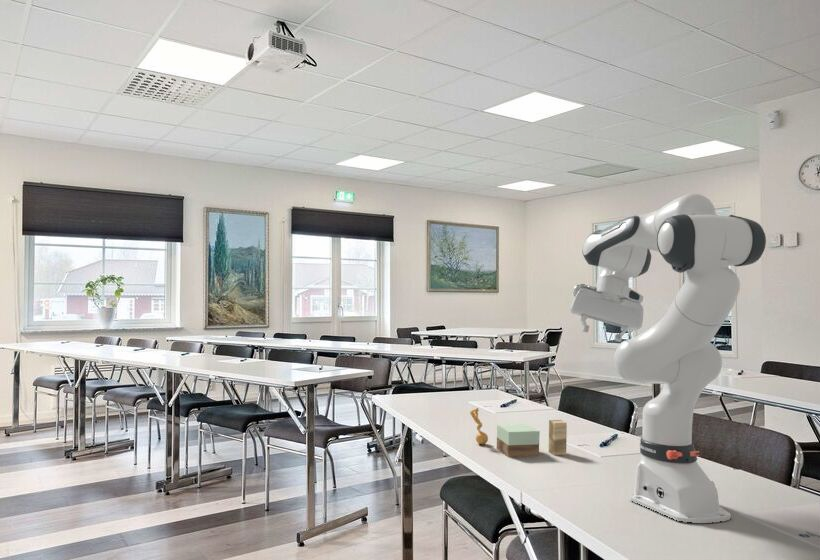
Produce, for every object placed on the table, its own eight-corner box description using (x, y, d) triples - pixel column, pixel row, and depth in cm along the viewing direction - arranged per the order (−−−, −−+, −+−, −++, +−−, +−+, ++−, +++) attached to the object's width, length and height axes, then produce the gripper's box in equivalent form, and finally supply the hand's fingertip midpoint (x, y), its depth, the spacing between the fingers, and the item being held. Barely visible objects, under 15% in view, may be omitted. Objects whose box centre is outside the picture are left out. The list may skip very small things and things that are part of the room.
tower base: (538, 457, 182) (539, 444, 182) (508, 458, 180) (508, 445, 180) (526, 449, 192) (526, 436, 192) (496, 450, 190) (496, 437, 190)
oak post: (566, 455, 184) (566, 422, 184) (554, 455, 183) (554, 422, 184) (560, 451, 188) (560, 419, 188) (548, 452, 187) (549, 420, 188)
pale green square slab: (539, 444, 182) (539, 431, 182) (508, 445, 180) (508, 432, 180) (526, 436, 192) (526, 423, 192) (496, 437, 190) (497, 424, 190)
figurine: (491, 447, 191) (491, 410, 192) (472, 447, 190) (473, 410, 191) (484, 441, 199) (485, 405, 200) (466, 441, 199) (467, 405, 199)
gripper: (578, 279, 173) (567, 323, 169) (649, 298, 170) (640, 344, 167) (573, 285, 179) (563, 328, 175) (641, 303, 176) (632, 348, 173)
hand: (601, 336), depth 171 cm, fingers open, 8 cm apart
